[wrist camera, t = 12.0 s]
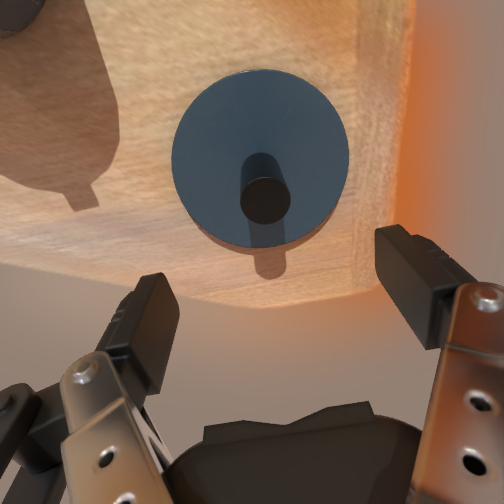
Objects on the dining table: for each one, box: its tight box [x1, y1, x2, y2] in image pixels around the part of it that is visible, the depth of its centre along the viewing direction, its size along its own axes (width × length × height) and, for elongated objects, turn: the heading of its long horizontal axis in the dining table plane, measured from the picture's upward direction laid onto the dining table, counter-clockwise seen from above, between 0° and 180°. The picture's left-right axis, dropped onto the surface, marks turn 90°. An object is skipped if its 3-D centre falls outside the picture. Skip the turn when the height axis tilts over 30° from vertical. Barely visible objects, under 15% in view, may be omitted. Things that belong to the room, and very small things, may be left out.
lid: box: [171, 69, 349, 248], centre depth 20 cm, size 13×13×7 cm
